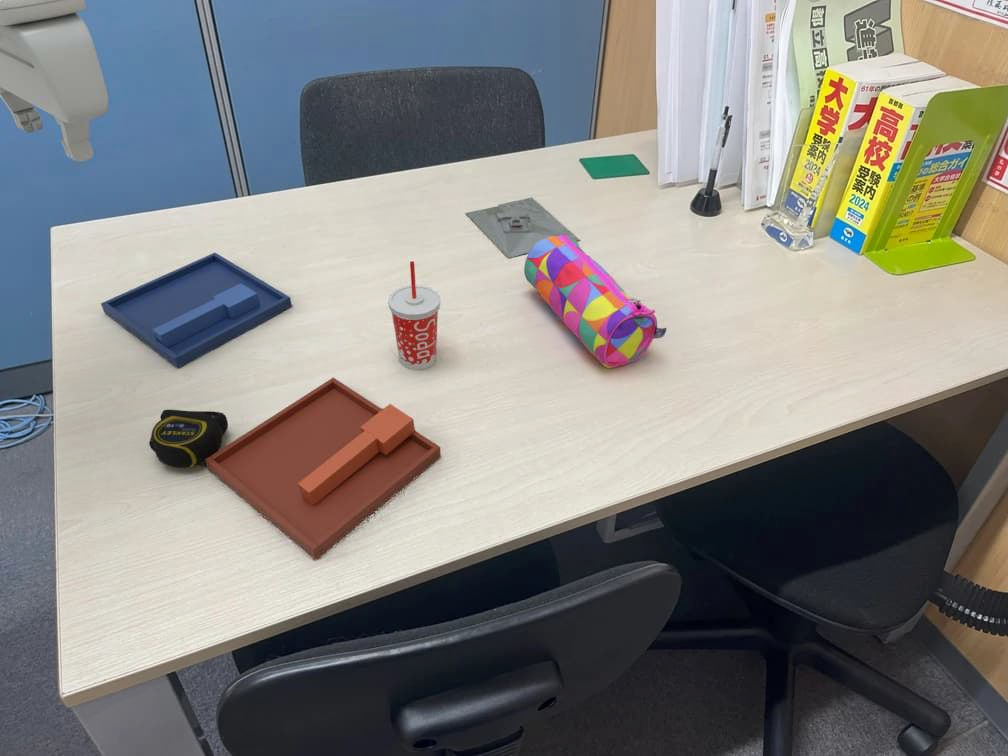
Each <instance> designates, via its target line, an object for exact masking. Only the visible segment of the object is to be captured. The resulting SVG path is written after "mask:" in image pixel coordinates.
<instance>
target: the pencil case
mask: <svg viewBox="0 0 1008 756" xmlns="http://www.w3.org/2000/svg"><path fill="white" fill-rule="evenodd" d="M523 270H524V271H523V272H524V277H525V279H526V280H527V282H528V283H529V284H530V285H531V286H532V287H533V288H534V289H535V291H537V292H538V294H539V295H540V296H541V298H542V299H543V300H544V302H545V303H546V304H547V305H548V306H549V307H550V309H551V310H552V311H553V312H554V313H555V314H556V315H557V317H558V318H559V319H560V320H561V321H562V322H563V323H564V325H565V326H566V327H568V329H569V330H570V331H571V332H572V333H573V334H574V336H576V338H577V339H578V340H579V341H580V342H581V344H582V345H583V346H584V347H585V349H586V350H587V351H588V352H589V353H590V354H591V355H592V356H593V358H596V360H598V361H599V363H601V364H602V365H603V366H604V367H605V368H607V369H611V368H617V367H620V366H624V365H627V364H630V363H633V362H635V361H637V360H639V359H640V358H641V357H642V356H643V355H644V354H646V352H647V350H648V349H649V348H650V346H651V344H652V342H653V340H654V339H661V338H664V336H665V335H666V332H667V330H668V329H667V327H662V328H661V327H658V319H657V317H656V315H655V312H656V310H655V309H649V308H648V307H647V306H646V305H644V304H642V303H641V302H642V299H641V298H636V297H634V296H629V295H628V294H627V292H626V291H625V290H624V289H623V288H622V287H621V286H620V285H619V283H618V282H617V281H616V280H615V279H614V278H613V277H612V276H611V275H610V273H608V271H606V269H605V268H604V267H603V266H602V265H600V264H599V263H598V262H597V261H596V260H595V259H592V258H591V256H590V255H588V254H587V253H586V252H585V251H584V250H583V249H582V248H581V246H580V244H579V243H578V241H575V240H573V239H572V238H570V237H567V236H566V235H561V236H552V237H548V238H545V239H542V240H540V241H539V242H537V243H536V244H535V245H534V246H533V248H532V249H531V250H530V252H529V253H527V255H526V259H525V261H524V268H523Z"/></svg>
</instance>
